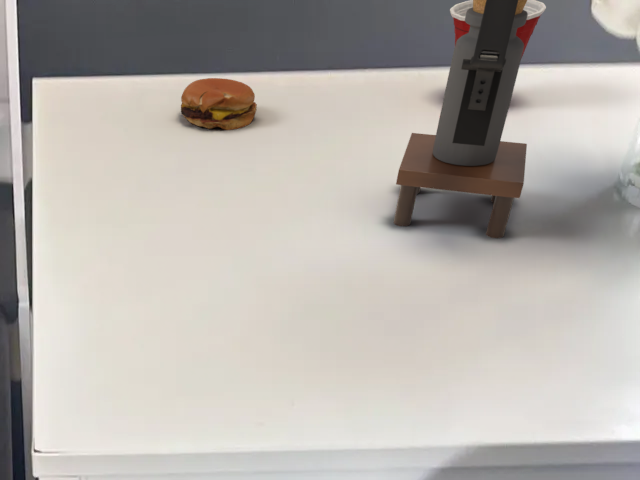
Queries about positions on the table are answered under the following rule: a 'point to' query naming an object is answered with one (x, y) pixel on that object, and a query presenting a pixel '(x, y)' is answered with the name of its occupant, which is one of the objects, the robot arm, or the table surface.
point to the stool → (461, 179)
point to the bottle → (455, 90)
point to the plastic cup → (523, 32)
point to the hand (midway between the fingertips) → (473, 121)
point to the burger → (218, 103)
